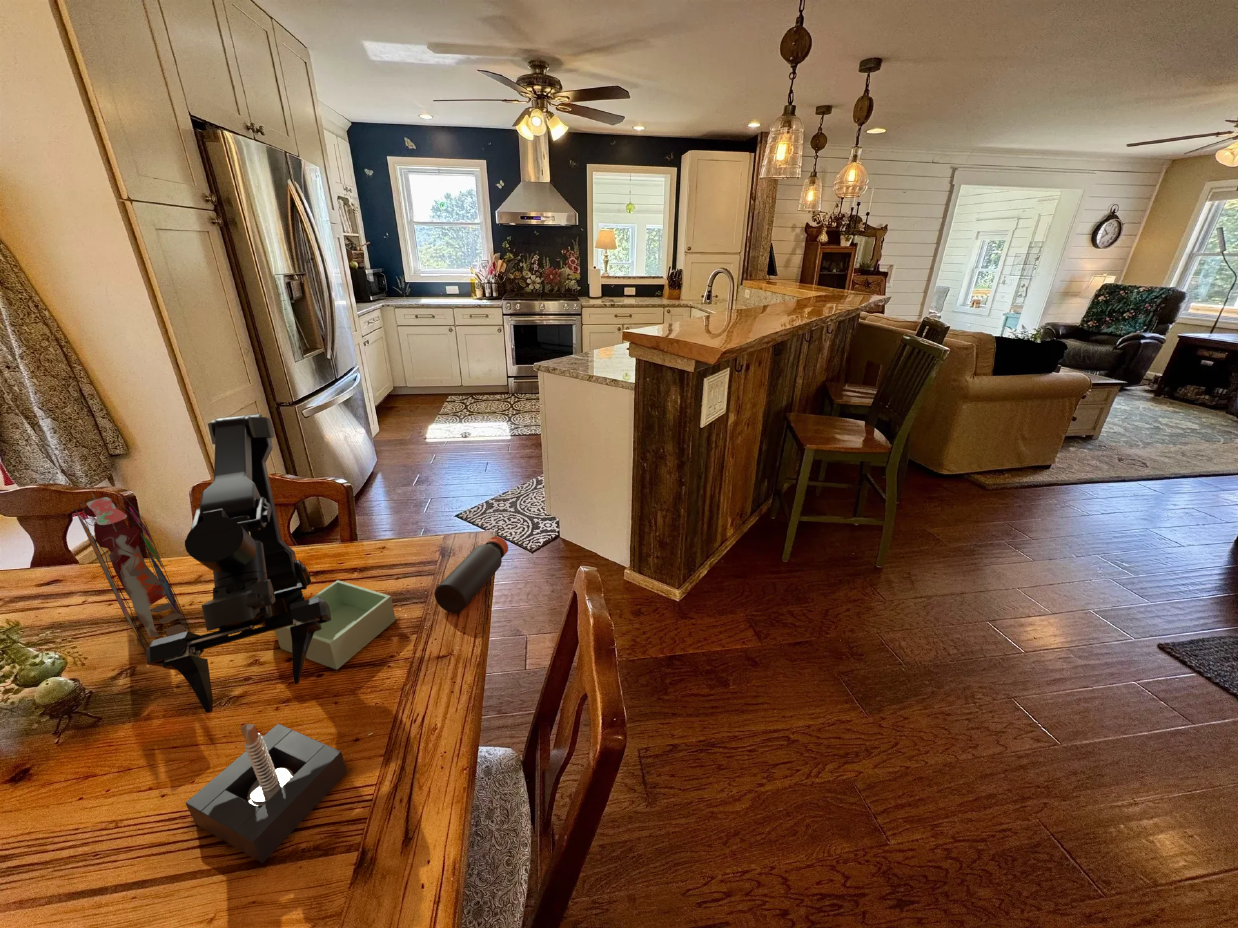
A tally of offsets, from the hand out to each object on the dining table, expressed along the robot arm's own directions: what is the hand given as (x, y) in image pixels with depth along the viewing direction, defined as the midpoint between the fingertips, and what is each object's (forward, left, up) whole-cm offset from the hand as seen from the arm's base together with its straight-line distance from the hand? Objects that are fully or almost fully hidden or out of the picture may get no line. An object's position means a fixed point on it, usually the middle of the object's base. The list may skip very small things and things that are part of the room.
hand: (254, 697), depth 62 cm
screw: (+4, -3, -12) cm, 13 cm away
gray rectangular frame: (+4, -3, -12) cm, 13 cm away
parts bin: (-13, +22, -12) cm, 28 cm away
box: (-49, +12, -12) cm, 52 cm away
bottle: (+2, +33, -8) cm, 34 cm away
